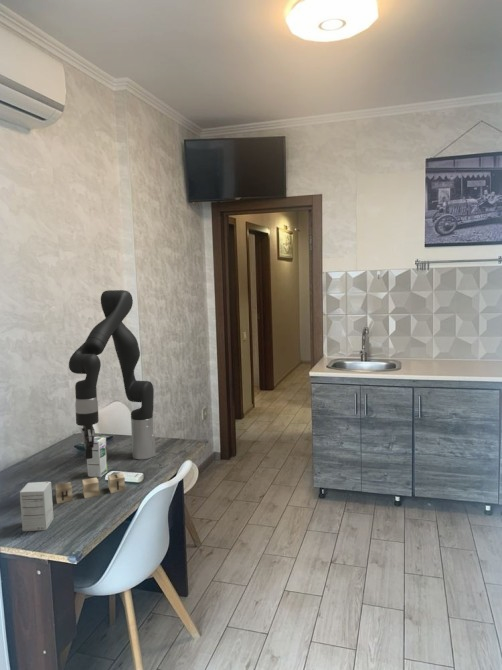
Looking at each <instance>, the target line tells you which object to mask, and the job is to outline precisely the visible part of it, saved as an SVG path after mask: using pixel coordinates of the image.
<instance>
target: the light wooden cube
mask: <svg viewBox="0 0 502 670" xmlns="http://www.w3.org/2000/svg"><path fill="white" fill-rule="evenodd" d="M55 499H56V504H57V505H58V504H62V503H67V502H73V499H74V498H73V486H72V483H71V481H69V482H63V483H57V484H55Z"/></svg>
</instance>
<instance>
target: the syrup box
mask: <svg viewBox="0 0 502 670" xmlns="http://www.w3.org/2000/svg"><path fill="white" fill-rule="evenodd" d="M107 451H108V450H107V437H106V436H94V446H93V448H92V456H93V457H92V458H91V459H86V465H87V467H86V468H87V477H90V478H95V477H97V478H102V477H103V476H104V475H105V474H107V473H108V472H109V469H108V468H109V467H108V452H107Z"/></svg>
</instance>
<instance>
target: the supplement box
mask: <svg viewBox="0 0 502 670" xmlns="http://www.w3.org/2000/svg"><path fill="white" fill-rule="evenodd" d="M19 500H20V501H19V504H20V516H21V527H22V528H21V529H22V530H21V531H22V532H31V531H32V532H33V531H35V532H36V531H47V530H48V528H49V526H50V525H51V524H52V522H53V520H54V509H53V507H54V505H53V492H52V482H51V481H37V482H33V481H32V482H27V483H26V484H25V486H23V487H22V489H21V490H19Z"/></svg>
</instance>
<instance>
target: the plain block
mask: <svg viewBox="0 0 502 670" xmlns="http://www.w3.org/2000/svg"><path fill="white" fill-rule="evenodd" d="M81 482H82V483H81V484H82V494H83V497H84V499H89V498H94V496H95V497H99V496H100V486H99V485H100V482H99V479H98V477H90V478H85V479H82V480H81Z"/></svg>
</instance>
